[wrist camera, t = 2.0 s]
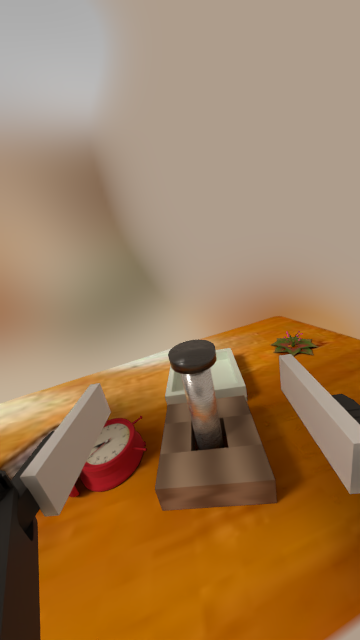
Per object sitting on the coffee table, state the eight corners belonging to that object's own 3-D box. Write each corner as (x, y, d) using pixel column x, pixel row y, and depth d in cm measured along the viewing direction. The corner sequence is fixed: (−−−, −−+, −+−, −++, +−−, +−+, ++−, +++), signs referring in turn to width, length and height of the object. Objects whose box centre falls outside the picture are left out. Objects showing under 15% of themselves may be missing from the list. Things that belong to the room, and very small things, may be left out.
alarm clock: (149, 453, 29) (30, 482, 25) (150, 485, 31) (38, 517, 27) (142, 407, 39) (54, 422, 35) (143, 433, 41) (59, 451, 36)
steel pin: (193, 474, 29) (165, 366, 23) (192, 437, 34) (170, 343, 29) (235, 470, 28) (217, 358, 22) (228, 433, 34) (212, 337, 28)
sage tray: (168, 410, 41) (165, 396, 40) (174, 367, 57) (172, 356, 56) (247, 400, 40) (245, 386, 39) (231, 359, 55) (230, 347, 54)
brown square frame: (162, 510, 25) (154, 489, 24) (172, 421, 39) (167, 404, 37) (277, 503, 24) (275, 480, 23) (246, 412, 37) (244, 395, 36)
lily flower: (266, 357, 53) (265, 341, 52) (271, 337, 63) (270, 324, 61) (321, 361, 47) (322, 344, 46) (318, 339, 57) (318, 324, 55)
